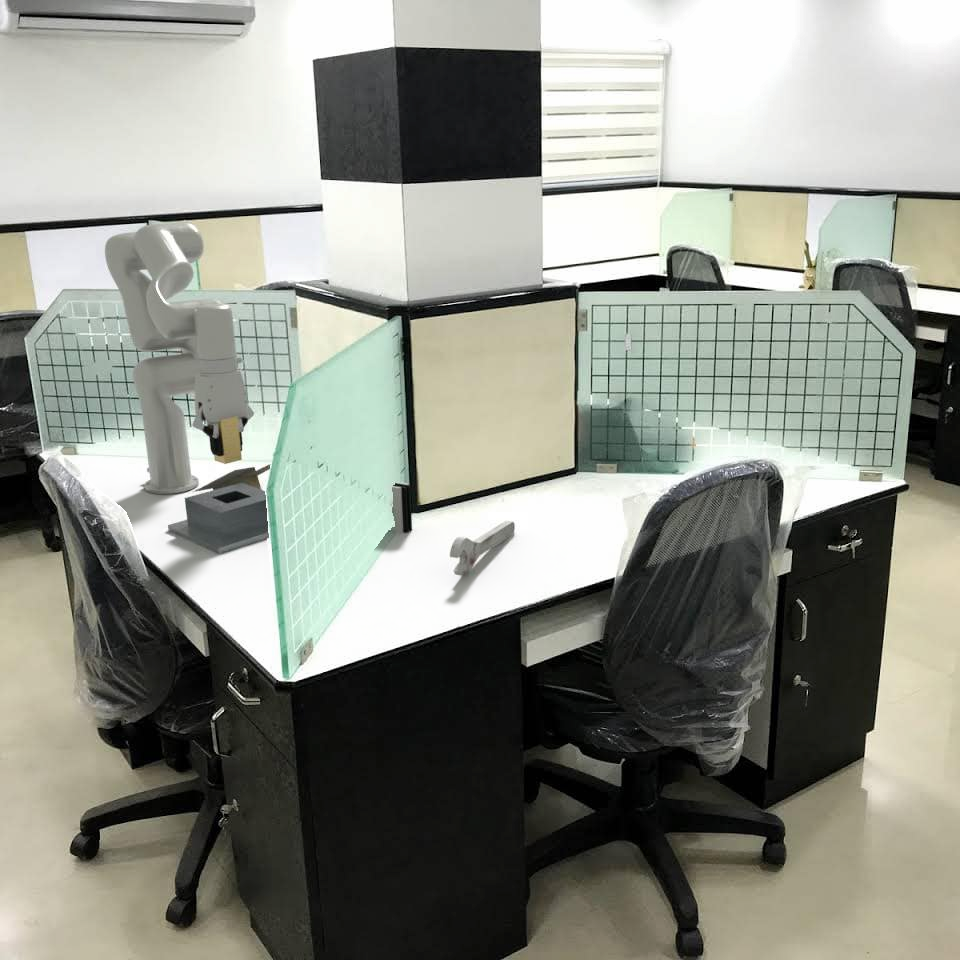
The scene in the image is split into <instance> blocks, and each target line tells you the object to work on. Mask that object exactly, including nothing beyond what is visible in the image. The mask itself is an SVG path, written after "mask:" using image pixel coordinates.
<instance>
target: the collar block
mask: <svg viewBox="0 0 960 960" xmlns="http://www.w3.org/2000/svg"><path fill="white" fill-rule="evenodd" d="M184 503H185V504H184V505H185V512H186V519H185V520H182V521H178V522H174V523H170V524H168V525H167V528H168V529H167V530H168V531H169V532H170V533H173V534H176V535H178V536H180V537H182V538H184V539H186V540H188V541H191V542H193V543H195V544H197V545H199V546H201V547H203V548H206V549H208V550H209V551H212V552H214V553H216V554H218V555H220V554H223V553H226V552H229V551H233V550H235V549H239V548H241V547H245V546H249V545H251V544H255V543H257V542H260V541H265V540H267V539H269V533H268V521H267V508H266V495H265V490H263V489H262V488H261V489H258V488H255V487H252V486H250V485H247V484H244V483H238V484H234V485H231V486H227V487H223V488H220V489H216V490H213V489H212V490H210V491H209V490H208V491H206V492H201V493H197V494H195V495H191V496H187V497H184Z"/></svg>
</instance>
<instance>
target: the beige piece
mask: <svg viewBox="0 0 960 960" xmlns="http://www.w3.org/2000/svg"><path fill="white" fill-rule="evenodd" d="M271 464H272V463H271ZM271 464H267V465H265V466H263V467H261V468H259V469H257V470H256V468H255V467H254V466H252V467H245V468H241V469H239V468H238V469H234V470H232V471H230V472H228V473H226V474H224V475H223V476H220V477H219V478H216V479H215V480H212V481H210V482H209V483H207V484H206V485H204V486H201V487H199V488H197V489H195V490H194V491H192V493H195V492H201V491H205V490H211V489H212V490H216V489H220V488H223V487H227V486H231V485H234V484H238V483H244V484H247V485H250V486H252V487H255V488H258V489H261V490H262V487H261V483H260V480H259V475H262V474H264V473H265V472H266V471H267V472H268V471H269V470H271V469H270V465H271Z"/></svg>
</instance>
